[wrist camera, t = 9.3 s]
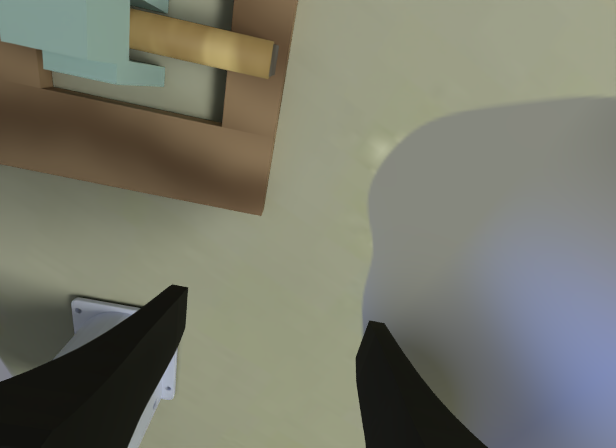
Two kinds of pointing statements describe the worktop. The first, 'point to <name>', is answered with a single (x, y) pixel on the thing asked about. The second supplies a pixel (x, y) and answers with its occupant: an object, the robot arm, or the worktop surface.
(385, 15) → the worktop surface
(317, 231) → the worktop surface
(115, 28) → the stepped grey-green block
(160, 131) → the board with dowel handle
